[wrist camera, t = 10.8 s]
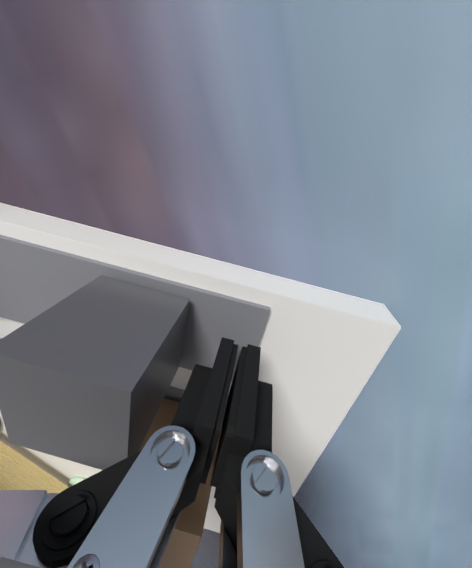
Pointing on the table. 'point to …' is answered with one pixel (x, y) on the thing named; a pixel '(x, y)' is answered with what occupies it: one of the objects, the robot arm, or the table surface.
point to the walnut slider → (192, 516)
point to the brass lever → (24, 473)
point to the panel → (207, 327)
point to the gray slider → (92, 371)
